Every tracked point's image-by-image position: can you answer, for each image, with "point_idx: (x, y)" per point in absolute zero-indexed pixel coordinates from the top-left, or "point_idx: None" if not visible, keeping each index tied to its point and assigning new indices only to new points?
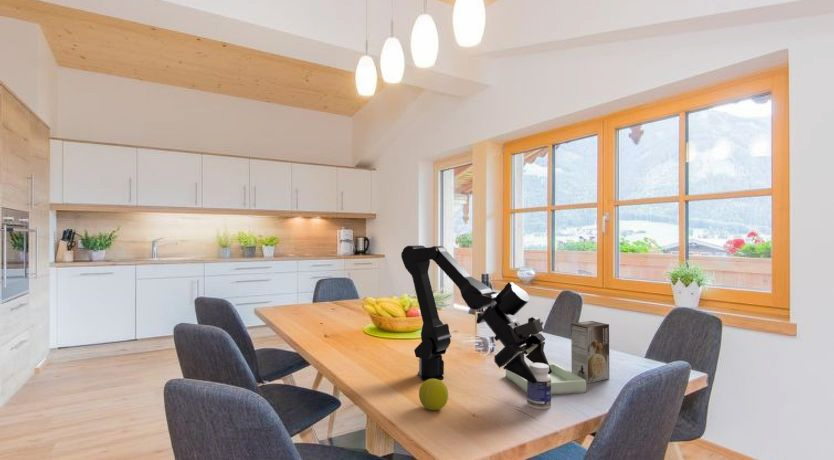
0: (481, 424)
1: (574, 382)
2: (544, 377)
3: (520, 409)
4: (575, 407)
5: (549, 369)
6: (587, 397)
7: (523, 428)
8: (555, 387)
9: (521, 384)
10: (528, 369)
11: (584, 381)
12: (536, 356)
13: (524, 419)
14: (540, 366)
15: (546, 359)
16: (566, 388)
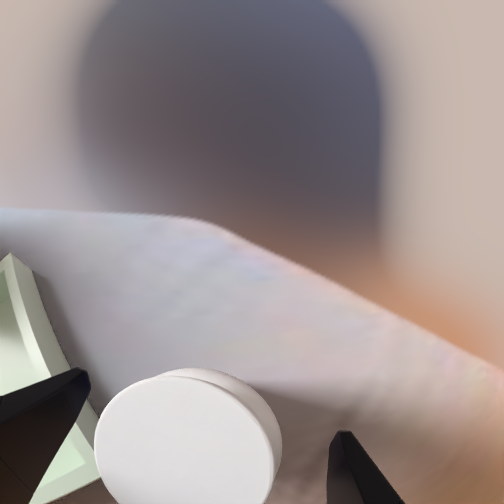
0: (460, 496)
1: (20, 290)
2: (250, 403)
3: (298, 476)
4: (170, 291)
5: (75, 382)
6: (69, 262)
7: (440, 402)
8: (56, 365)
9: (65, 495)
10: (388, 497)
11: (12, 258)
12: (6, 470)
13: (381, 431)
14: (220, 449)
15: (10, 396)
16: (42, 325)
